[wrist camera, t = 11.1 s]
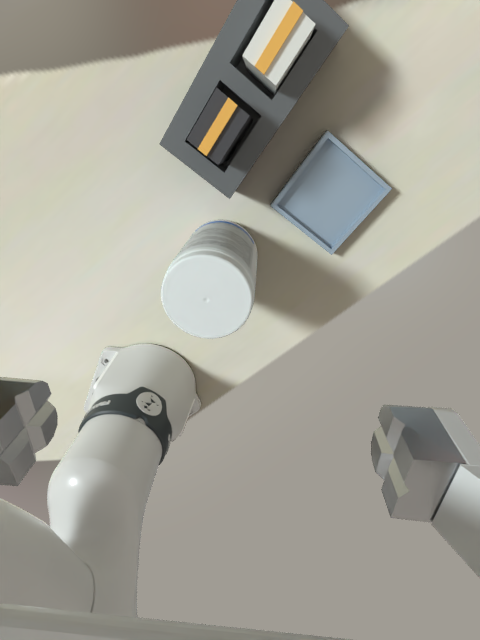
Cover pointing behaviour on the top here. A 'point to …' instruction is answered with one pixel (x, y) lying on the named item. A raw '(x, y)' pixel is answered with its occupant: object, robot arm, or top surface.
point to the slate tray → (330, 193)
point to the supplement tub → (212, 281)
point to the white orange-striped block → (278, 44)
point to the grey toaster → (243, 96)
